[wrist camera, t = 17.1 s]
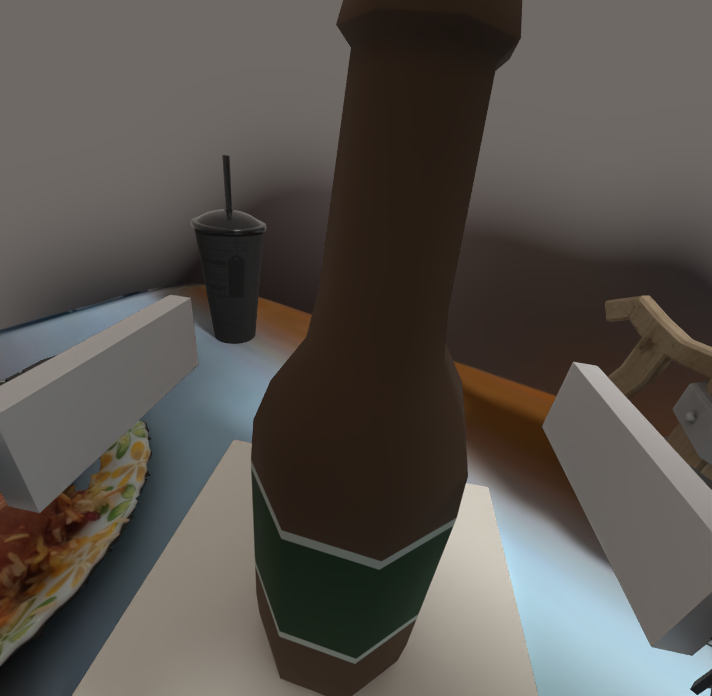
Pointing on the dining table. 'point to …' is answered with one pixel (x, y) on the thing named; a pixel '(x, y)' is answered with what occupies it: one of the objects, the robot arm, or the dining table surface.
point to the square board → (245, 627)
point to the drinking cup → (231, 266)
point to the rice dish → (65, 540)
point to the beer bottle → (377, 351)
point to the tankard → (647, 361)
